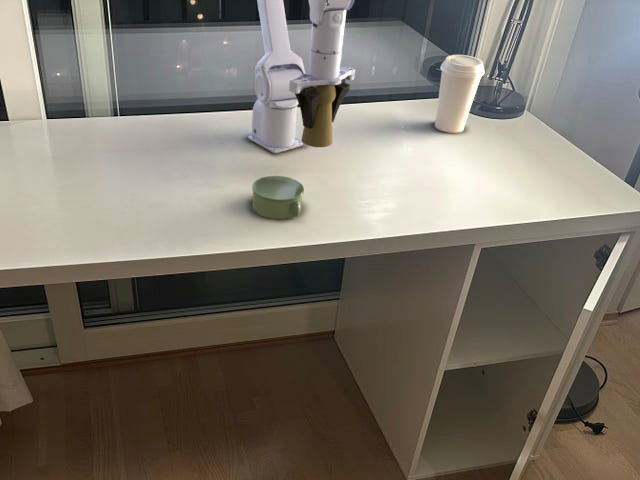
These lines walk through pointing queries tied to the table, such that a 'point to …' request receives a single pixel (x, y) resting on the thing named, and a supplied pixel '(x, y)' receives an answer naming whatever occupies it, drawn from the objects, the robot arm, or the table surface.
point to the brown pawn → (321, 119)
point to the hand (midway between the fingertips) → (318, 123)
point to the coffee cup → (457, 91)
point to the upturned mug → (277, 197)
